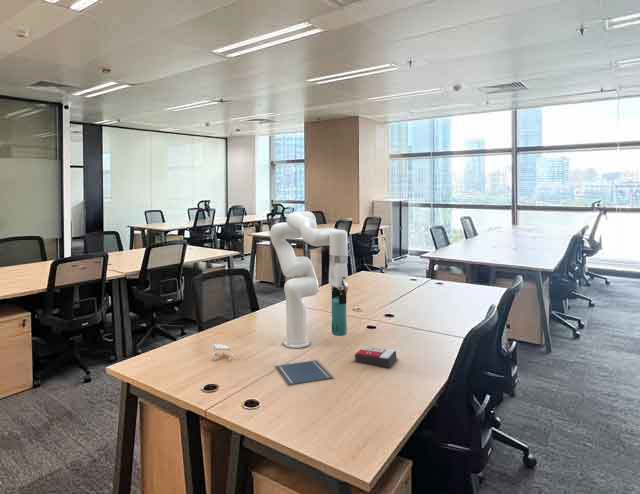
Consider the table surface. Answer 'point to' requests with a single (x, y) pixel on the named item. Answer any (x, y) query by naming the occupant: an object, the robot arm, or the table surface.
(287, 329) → the robot arm
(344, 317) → the beverage bottle
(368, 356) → the black buttoned block
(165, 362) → the table surface
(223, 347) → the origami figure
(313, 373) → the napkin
